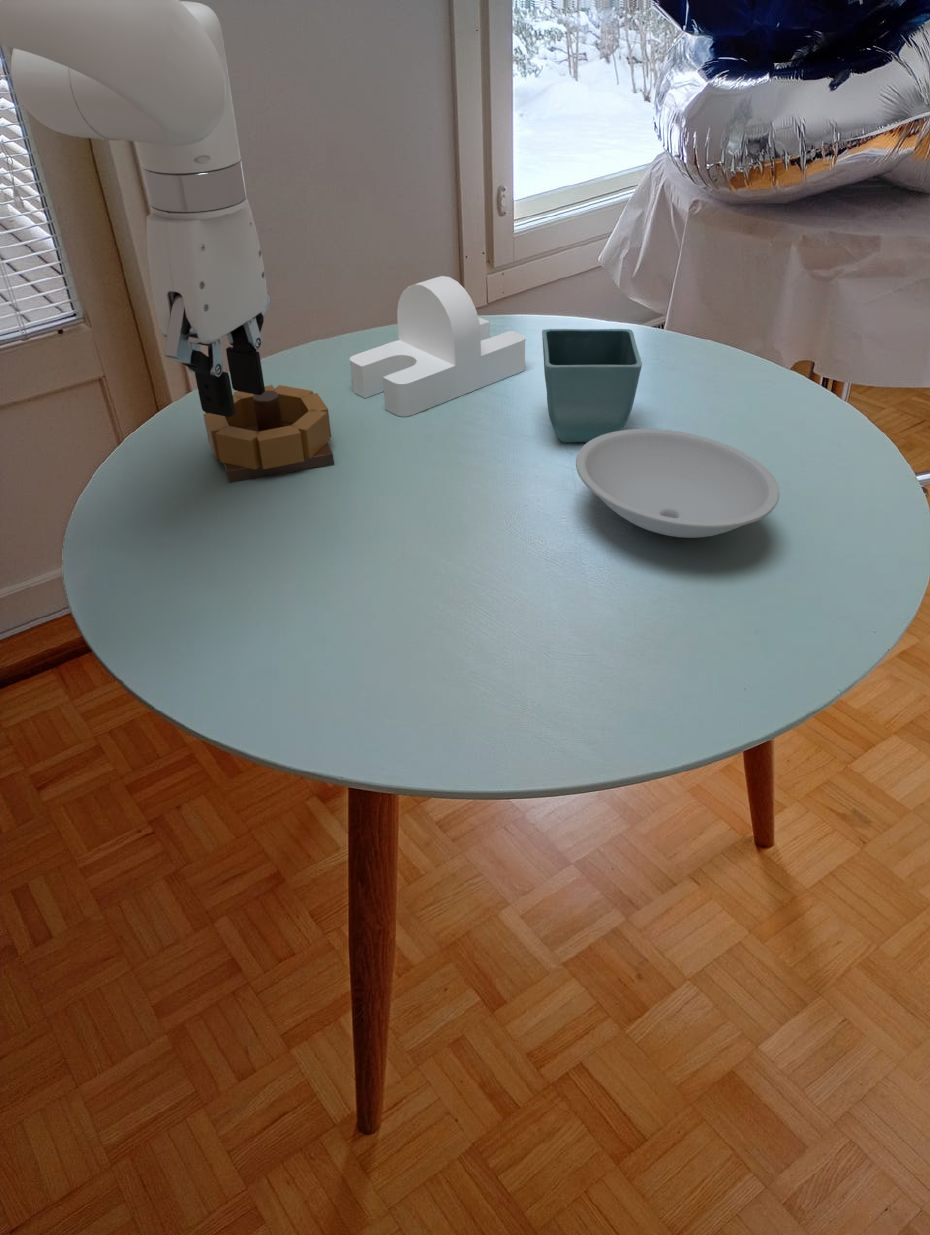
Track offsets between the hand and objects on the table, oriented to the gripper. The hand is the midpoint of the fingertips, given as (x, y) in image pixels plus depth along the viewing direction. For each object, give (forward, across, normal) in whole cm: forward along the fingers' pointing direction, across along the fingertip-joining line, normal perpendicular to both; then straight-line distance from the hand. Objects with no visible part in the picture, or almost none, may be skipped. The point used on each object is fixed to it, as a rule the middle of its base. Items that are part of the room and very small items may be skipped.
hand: (234, 400), depth 88 cm
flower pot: (+7, -19, +27) cm, 34 cm away
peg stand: (+7, -5, 0) cm, 9 cm away
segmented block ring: (+6, -4, 0) cm, 8 cm away
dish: (+7, -6, +39) cm, 40 cm away
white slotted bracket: (+7, -26, +8) cm, 28 cm away
